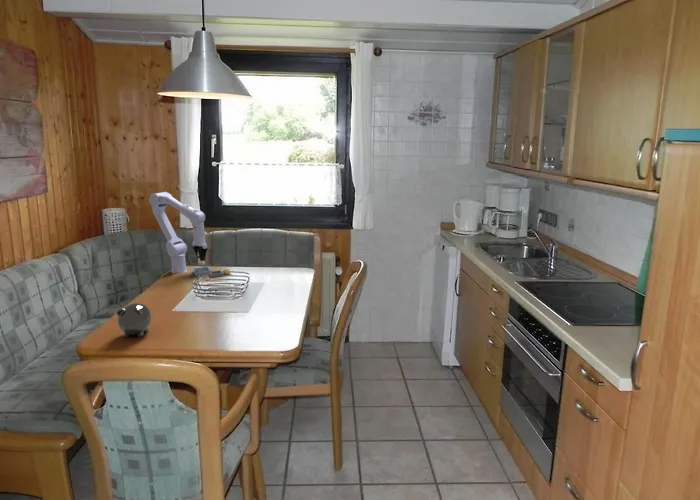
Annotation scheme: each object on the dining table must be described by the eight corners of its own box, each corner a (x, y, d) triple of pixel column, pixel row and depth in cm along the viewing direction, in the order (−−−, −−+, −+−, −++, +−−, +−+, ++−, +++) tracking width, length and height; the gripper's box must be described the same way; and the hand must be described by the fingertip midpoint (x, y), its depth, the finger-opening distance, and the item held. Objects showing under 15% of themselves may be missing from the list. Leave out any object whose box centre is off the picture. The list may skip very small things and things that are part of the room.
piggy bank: (112, 342, 189) (108, 311, 186) (129, 328, 203) (125, 299, 201) (143, 341, 188) (140, 310, 186) (158, 327, 203) (155, 298, 201)
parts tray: (192, 272, 287) (192, 268, 286) (208, 270, 290) (208, 266, 290) (195, 277, 277) (195, 272, 277) (212, 275, 281) (211, 270, 280)
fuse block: (209, 275, 279) (208, 269, 279) (229, 273, 283) (228, 267, 283) (211, 279, 272) (211, 272, 271) (232, 276, 276) (232, 270, 276)
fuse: (197, 264, 283) (196, 251, 282) (204, 263, 285) (202, 250, 283) (199, 265, 280) (198, 252, 279) (205, 264, 282) (204, 251, 281)
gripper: (186, 234, 283) (188, 259, 285) (197, 237, 271) (199, 263, 274) (199, 232, 287) (201, 257, 290) (210, 235, 276) (212, 261, 278)
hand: (201, 260), depth 282 cm, fingers closed on fuse, 3 cm apart
